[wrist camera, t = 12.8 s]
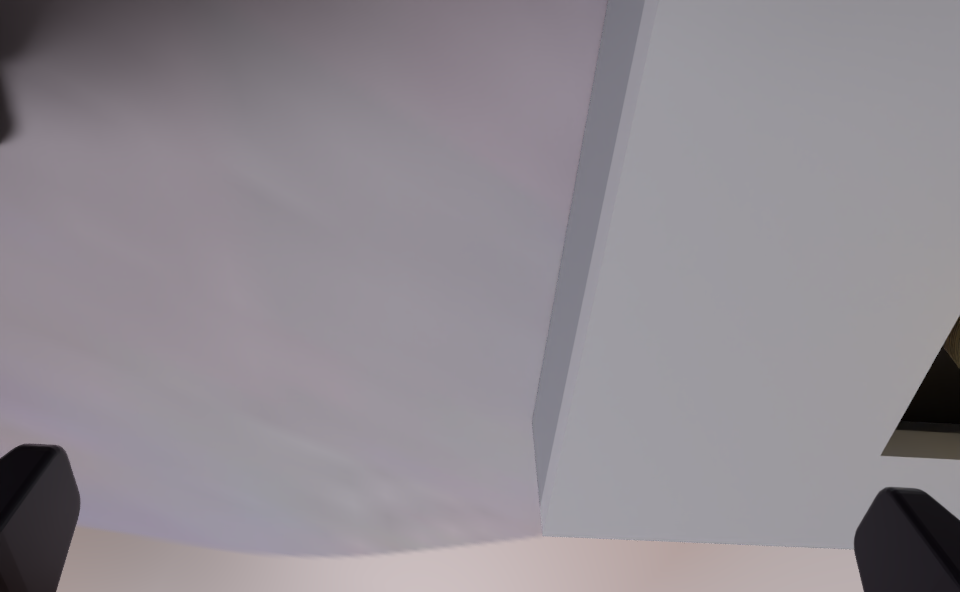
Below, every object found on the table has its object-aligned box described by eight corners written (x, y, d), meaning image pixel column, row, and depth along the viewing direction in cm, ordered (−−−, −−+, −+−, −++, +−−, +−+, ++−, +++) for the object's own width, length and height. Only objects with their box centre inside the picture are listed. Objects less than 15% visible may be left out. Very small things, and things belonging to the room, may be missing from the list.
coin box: (531, 422, 27) (542, 536, 23) (626, -104, 17) (670, -53, 14) (1099, 452, 28) (1193, 563, 24) (1478, -22, 18) (1725, 45, 15)
